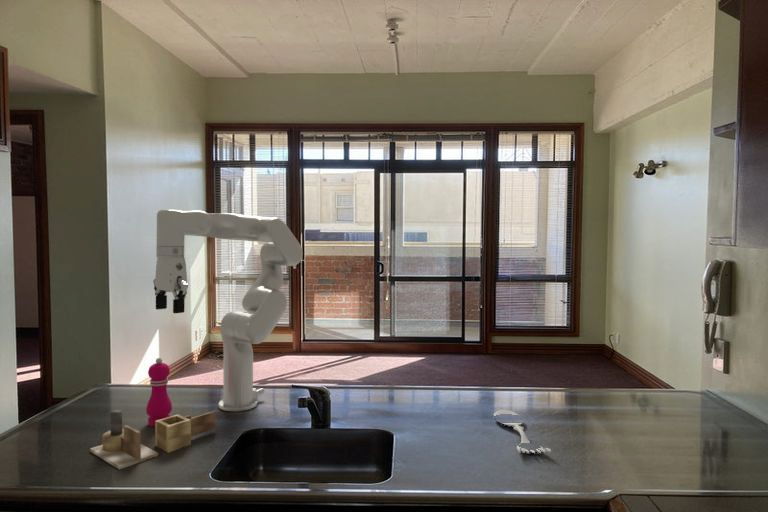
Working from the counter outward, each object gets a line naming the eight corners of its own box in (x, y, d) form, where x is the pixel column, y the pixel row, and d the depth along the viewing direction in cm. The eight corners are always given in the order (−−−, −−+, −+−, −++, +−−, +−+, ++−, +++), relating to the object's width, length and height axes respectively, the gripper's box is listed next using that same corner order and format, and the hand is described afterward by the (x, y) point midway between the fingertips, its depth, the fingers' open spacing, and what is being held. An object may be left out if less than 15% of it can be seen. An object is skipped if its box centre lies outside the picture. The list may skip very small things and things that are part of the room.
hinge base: (90, 451, 139) (89, 413, 138) (127, 439, 147) (127, 403, 146) (119, 469, 129) (118, 428, 128) (158, 455, 137) (157, 417, 136)
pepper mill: (162, 428, 155) (162, 361, 154) (141, 426, 156) (140, 360, 155) (177, 419, 162) (176, 355, 161) (156, 417, 164) (155, 354, 162)
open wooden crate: (207, 428, 156) (207, 405, 155) (221, 434, 152) (221, 410, 151) (155, 446, 143) (155, 420, 143) (168, 452, 139) (168, 426, 139)
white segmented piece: (518, 461, 138) (518, 449, 138) (489, 417, 170) (490, 406, 170) (552, 462, 139) (552, 449, 138) (517, 417, 170) (517, 407, 170)
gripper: (198, 253, 150) (197, 313, 151) (167, 250, 161) (166, 306, 162) (174, 253, 144) (173, 315, 145) (143, 251, 155) (142, 308, 156)
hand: (169, 310), depth 153 cm, fingers open, 9 cm apart
